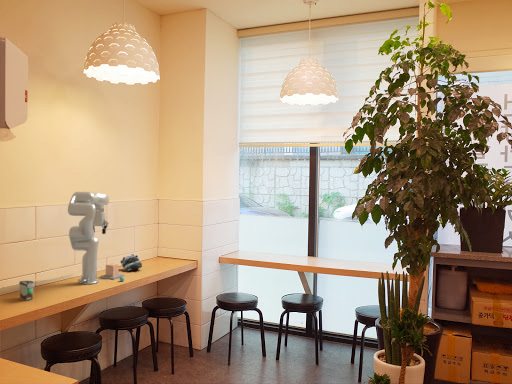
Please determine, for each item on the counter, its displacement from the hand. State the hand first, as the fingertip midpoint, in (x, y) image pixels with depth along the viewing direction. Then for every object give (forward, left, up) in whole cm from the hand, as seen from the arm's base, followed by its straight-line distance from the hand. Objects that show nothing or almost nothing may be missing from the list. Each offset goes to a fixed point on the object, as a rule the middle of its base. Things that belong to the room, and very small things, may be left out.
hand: (98, 233), depth 349 cm
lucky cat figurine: (+20, -15, -31) cm, 40 cm away
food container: (-73, -6, -31) cm, 79 cm away
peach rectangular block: (-5, -16, -29) cm, 34 cm away
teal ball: (-13, -30, -30) cm, 45 cm away
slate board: (-5, -16, -30) cm, 35 cm away
